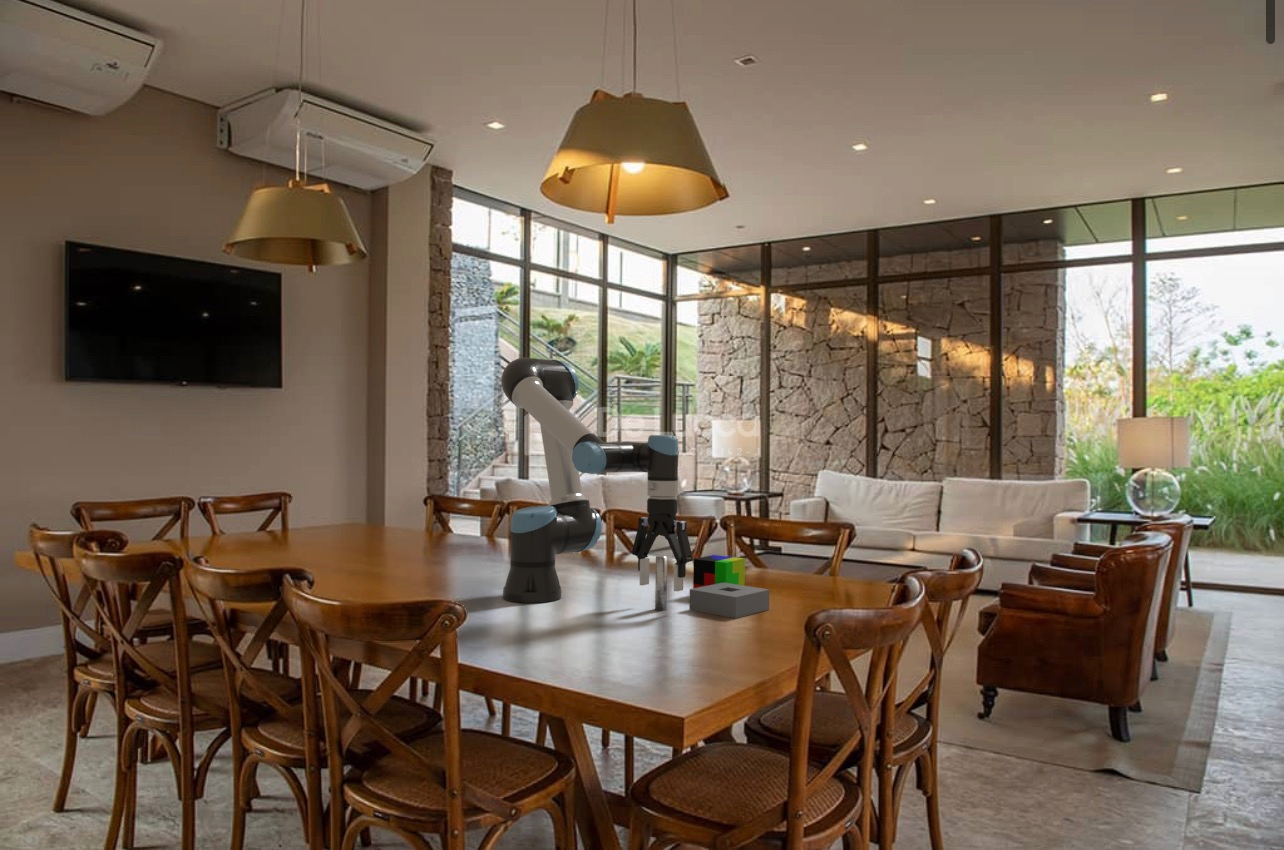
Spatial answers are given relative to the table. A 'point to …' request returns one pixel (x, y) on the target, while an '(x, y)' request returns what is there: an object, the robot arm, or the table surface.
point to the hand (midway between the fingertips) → (661, 587)
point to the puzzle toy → (718, 570)
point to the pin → (661, 583)
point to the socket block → (729, 600)
